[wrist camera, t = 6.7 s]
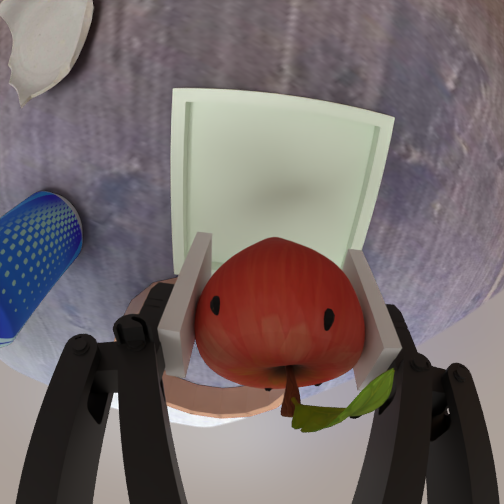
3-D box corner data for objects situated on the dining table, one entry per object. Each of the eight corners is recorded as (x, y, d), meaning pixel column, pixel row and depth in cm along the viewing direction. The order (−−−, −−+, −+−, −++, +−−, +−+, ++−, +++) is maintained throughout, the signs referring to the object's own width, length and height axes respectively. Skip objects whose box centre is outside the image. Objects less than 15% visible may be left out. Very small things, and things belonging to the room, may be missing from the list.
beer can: (102, 239, 27) (14, 360, 14) (59, 266, 30) (-15, 367, 16) (58, 171, 24) (-62, 262, 10) (20, 208, 26) (-73, 294, 12)
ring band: (142, 378, 40) (134, 402, 36) (112, 264, 29) (93, 291, 25) (282, 397, 40) (282, 423, 37) (317, 288, 29) (323, 319, 25)
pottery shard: (68, 105, 20) (32, 115, 16) (4, 68, 17) (-29, 75, 13) (123, 3, 16) (92, -9, 11) (47, -21, 13) (15, -28, 8)
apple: (316, 322, 18) (334, 481, 9) (205, 302, 17) (167, 467, 9) (364, 209, 14) (458, 388, 5) (224, 177, 13) (151, 361, 5)
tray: (179, 261, 28) (174, 274, 27) (180, 87, 20) (172, 88, 18) (343, 279, 28) (347, 292, 27) (385, 114, 20) (394, 117, 18)
